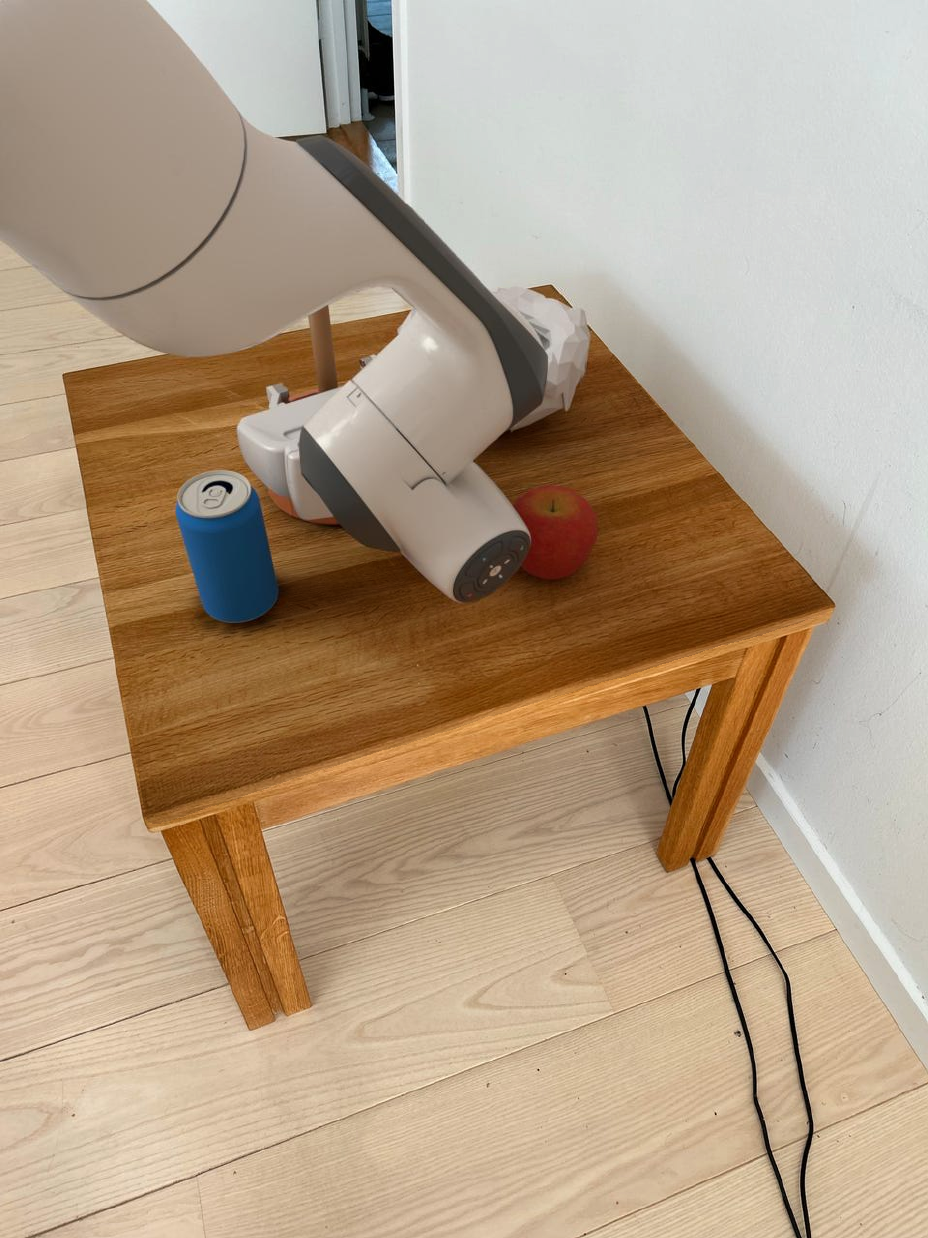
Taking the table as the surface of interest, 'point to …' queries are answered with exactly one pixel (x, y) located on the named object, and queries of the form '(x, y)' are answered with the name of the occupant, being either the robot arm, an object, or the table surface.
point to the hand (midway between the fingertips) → (321, 376)
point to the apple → (556, 531)
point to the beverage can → (227, 545)
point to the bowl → (550, 346)
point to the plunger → (323, 350)
